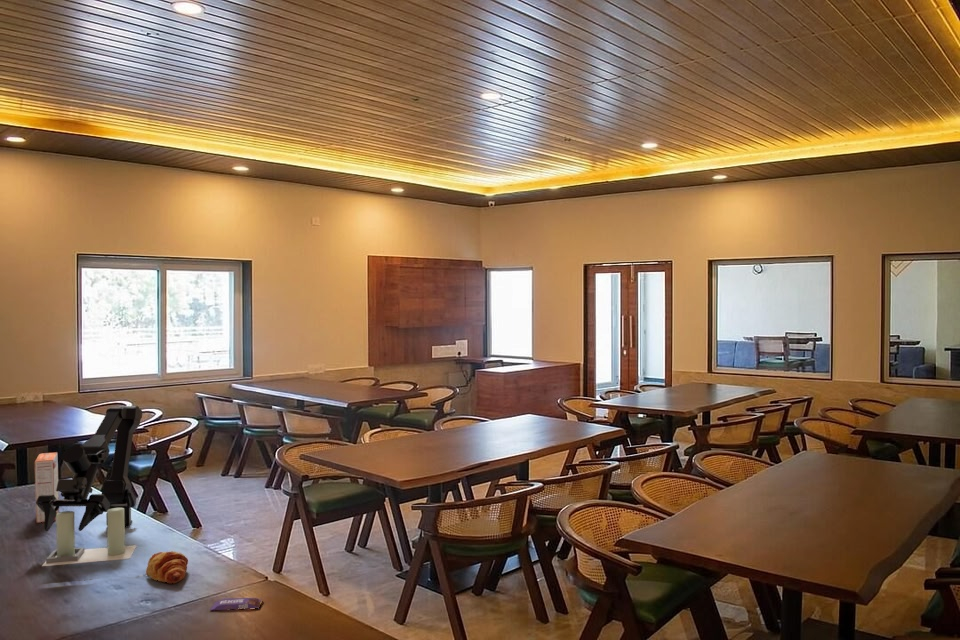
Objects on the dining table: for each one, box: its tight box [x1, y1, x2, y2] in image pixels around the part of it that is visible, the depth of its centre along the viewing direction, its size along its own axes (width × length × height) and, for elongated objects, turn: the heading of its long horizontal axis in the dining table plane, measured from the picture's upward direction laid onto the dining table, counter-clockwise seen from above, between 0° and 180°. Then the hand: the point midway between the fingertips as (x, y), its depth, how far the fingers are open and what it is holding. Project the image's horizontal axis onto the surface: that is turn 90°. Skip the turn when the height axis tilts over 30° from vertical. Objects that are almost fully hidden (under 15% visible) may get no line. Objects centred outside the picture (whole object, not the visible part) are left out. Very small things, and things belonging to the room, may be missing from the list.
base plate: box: [41, 544, 138, 567], centre depth 210 cm, size 22×12×2 cm, turn 106°
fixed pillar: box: [106, 508, 126, 556], centre depth 211 cm, size 4×4×12 cm
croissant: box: [145, 551, 189, 584], centre depth 197 cm, size 21×10×8 cm, turn 38°
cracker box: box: [34, 451, 60, 524], centre depth 251 cm, size 14×6×21 cm, turn 25°
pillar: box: [55, 510, 76, 557], centre depth 208 cm, size 4×4×12 cm
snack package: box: [209, 597, 262, 611], centre depth 176 cm, size 12×2×5 cm
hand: (62, 530), depth 206 cm, fingers open, 9 cm apart
